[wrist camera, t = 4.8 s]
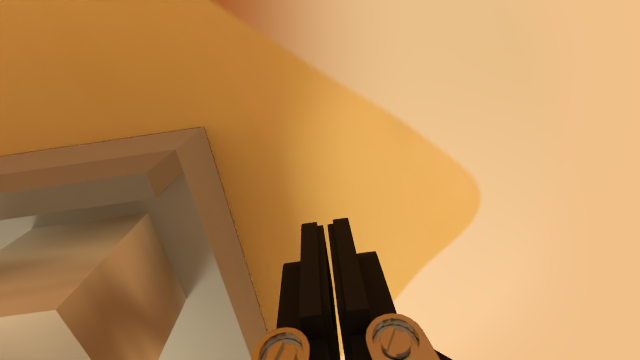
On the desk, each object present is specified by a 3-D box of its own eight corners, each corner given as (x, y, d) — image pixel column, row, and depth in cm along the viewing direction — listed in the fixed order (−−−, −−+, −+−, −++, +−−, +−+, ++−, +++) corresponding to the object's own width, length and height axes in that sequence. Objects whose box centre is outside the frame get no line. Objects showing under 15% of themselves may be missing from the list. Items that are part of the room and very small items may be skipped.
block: (186, 299, 13) (131, 416, 9) (87, 312, 13) (-13, 434, 9) (147, 212, 11) (55, 310, 7) (32, 228, 11) (-127, 334, 7)
